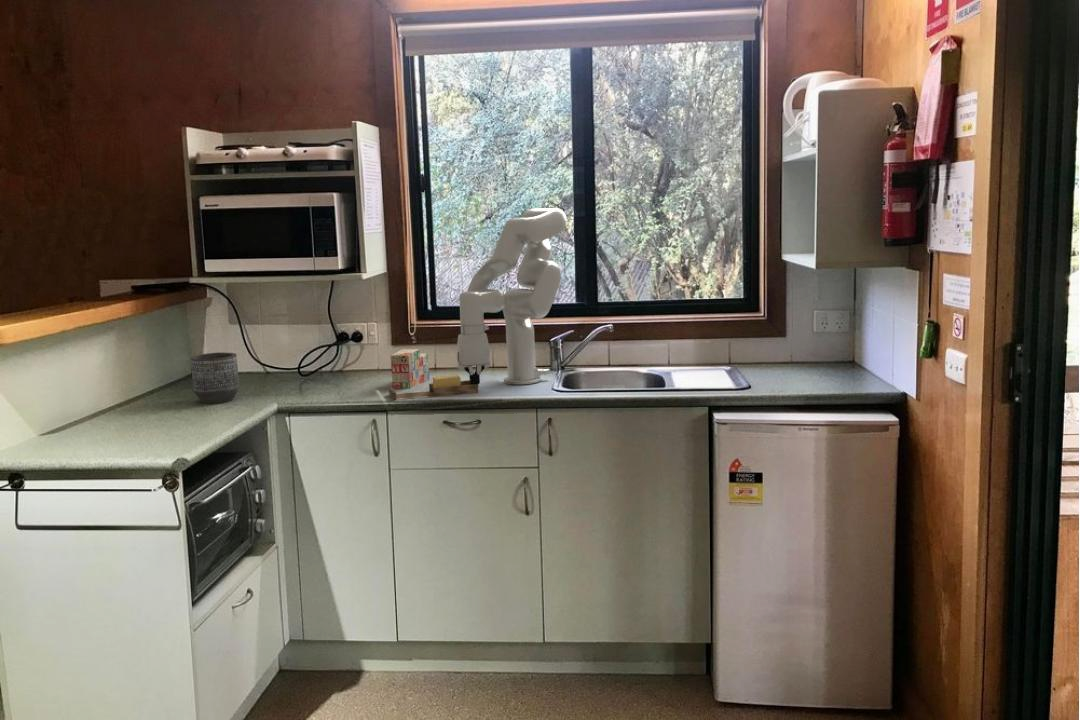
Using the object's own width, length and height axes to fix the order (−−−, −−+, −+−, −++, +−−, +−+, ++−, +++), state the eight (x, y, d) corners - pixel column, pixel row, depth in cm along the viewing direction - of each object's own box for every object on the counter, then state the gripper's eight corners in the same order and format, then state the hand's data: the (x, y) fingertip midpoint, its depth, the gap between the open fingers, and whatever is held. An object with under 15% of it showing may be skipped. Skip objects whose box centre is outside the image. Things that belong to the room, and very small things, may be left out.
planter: (214, 407, 298) (209, 360, 295) (185, 403, 305) (180, 357, 303) (249, 398, 310) (245, 353, 307) (221, 395, 317) (217, 351, 315)
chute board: (471, 389, 311) (471, 379, 310) (478, 395, 302) (477, 384, 301) (389, 397, 303) (388, 387, 303) (393, 402, 294) (392, 392, 294)
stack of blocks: (412, 379, 335) (410, 344, 333) (429, 379, 334) (427, 344, 332) (392, 391, 314) (390, 354, 312) (410, 391, 313) (408, 354, 311)
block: (457, 389, 307) (457, 374, 306) (461, 392, 302) (460, 377, 301) (433, 392, 305) (432, 376, 304) (436, 394, 300) (435, 379, 299)
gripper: (492, 327, 309) (494, 382, 311) (447, 330, 304) (449, 386, 307) (498, 329, 301) (500, 386, 304) (452, 333, 297) (454, 390, 300)
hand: (474, 386), depth 306 cm, fingers closed
